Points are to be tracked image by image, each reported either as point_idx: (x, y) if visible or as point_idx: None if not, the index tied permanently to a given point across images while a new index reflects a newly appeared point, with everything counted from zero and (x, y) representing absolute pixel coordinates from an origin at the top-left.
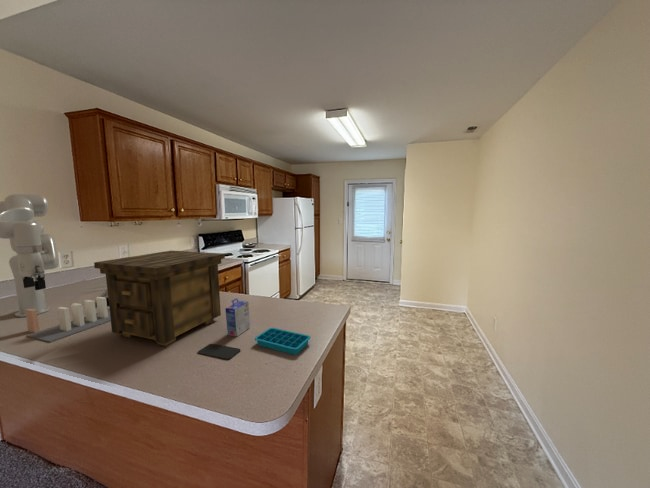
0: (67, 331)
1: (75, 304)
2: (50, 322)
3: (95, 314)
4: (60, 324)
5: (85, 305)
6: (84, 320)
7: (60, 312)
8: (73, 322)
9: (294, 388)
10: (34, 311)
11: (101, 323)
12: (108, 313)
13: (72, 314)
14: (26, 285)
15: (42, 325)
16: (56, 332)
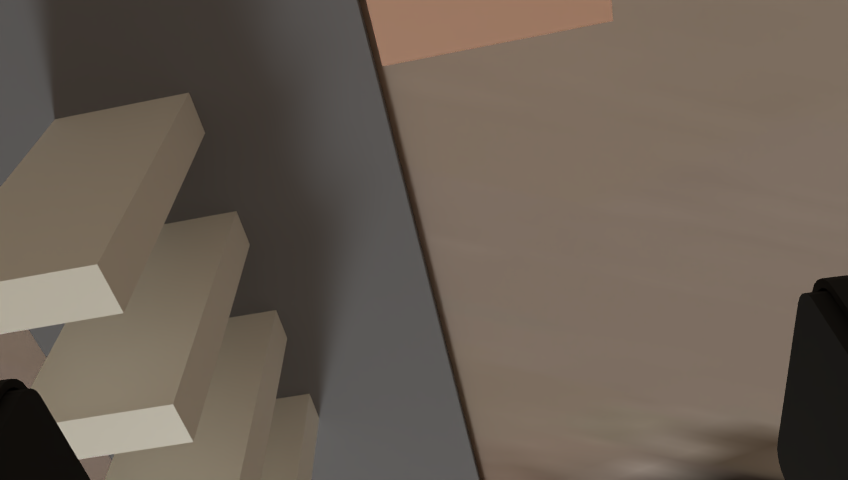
0: (27, 116)
1: (104, 427)
2: (651, 101)
3: None
4: (147, 128)
5: (223, 460)
6: (301, 302)
7: (52, 235)
8: (229, 228)
9: None
10: (373, 25)
11: (47, 352)
12: (333, 461)
13: (205, 294)
14: (828, 377)
15: (621, 18)
16: (93, 40)
